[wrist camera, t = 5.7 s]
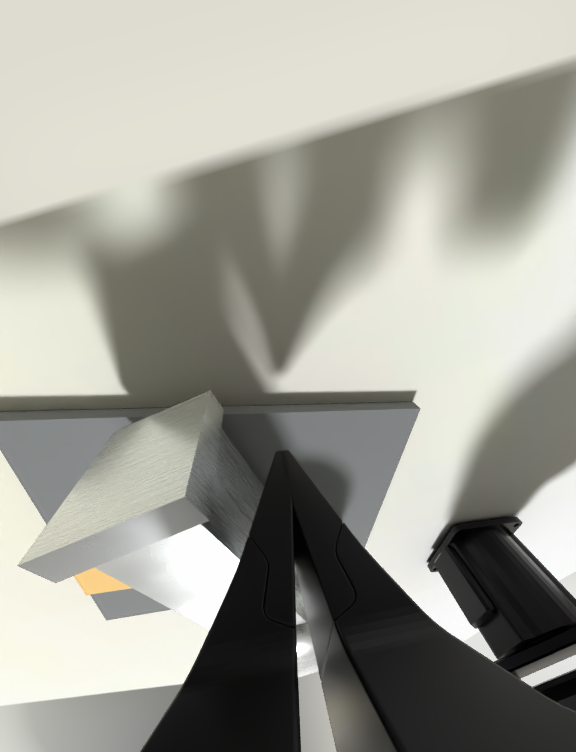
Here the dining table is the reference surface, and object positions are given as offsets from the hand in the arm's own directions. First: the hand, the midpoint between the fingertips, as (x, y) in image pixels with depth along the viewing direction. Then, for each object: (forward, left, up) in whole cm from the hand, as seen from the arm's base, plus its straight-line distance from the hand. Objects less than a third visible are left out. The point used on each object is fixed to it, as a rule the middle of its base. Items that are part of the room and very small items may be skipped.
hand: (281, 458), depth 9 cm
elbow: (+1, +6, -1) cm, 6 cm away
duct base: (+2, +8, -3) cm, 8 cm away
